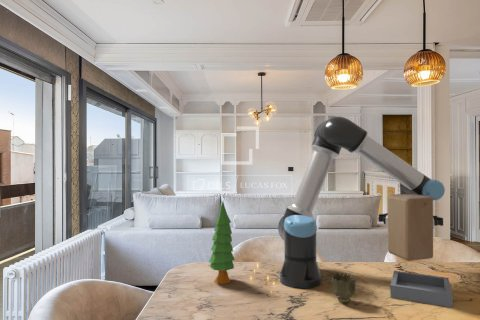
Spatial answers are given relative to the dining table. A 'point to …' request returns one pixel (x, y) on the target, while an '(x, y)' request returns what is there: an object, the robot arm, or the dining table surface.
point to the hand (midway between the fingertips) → (409, 223)
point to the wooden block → (410, 226)
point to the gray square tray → (421, 288)
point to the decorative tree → (222, 247)
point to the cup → (344, 286)
